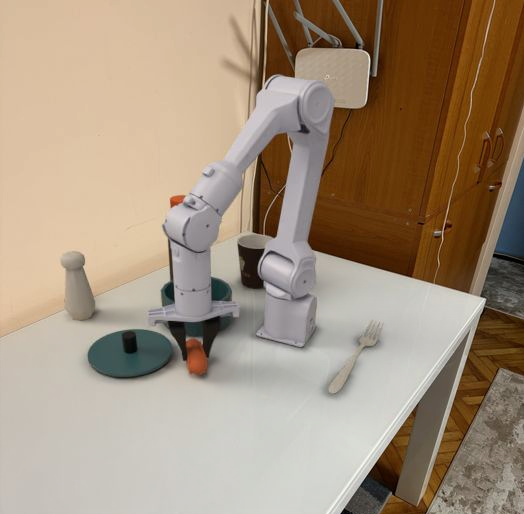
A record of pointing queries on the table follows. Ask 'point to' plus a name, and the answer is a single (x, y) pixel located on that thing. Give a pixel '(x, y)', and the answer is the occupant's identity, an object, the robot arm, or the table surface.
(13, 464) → the table surface
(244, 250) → the coffee mug
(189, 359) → the hot dog
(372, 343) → the fork
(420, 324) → the table surface
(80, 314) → the salt shaker
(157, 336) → the pot lid
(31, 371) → the table surface
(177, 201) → the bottle
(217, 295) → the pot
